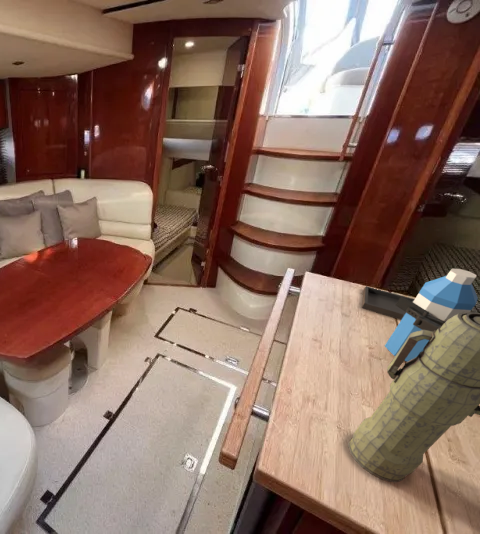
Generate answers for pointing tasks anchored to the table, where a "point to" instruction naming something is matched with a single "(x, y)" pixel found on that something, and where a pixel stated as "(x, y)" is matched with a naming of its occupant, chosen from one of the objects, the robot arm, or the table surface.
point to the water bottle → (436, 307)
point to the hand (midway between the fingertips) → (418, 300)
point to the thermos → (422, 399)
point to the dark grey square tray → (382, 302)
